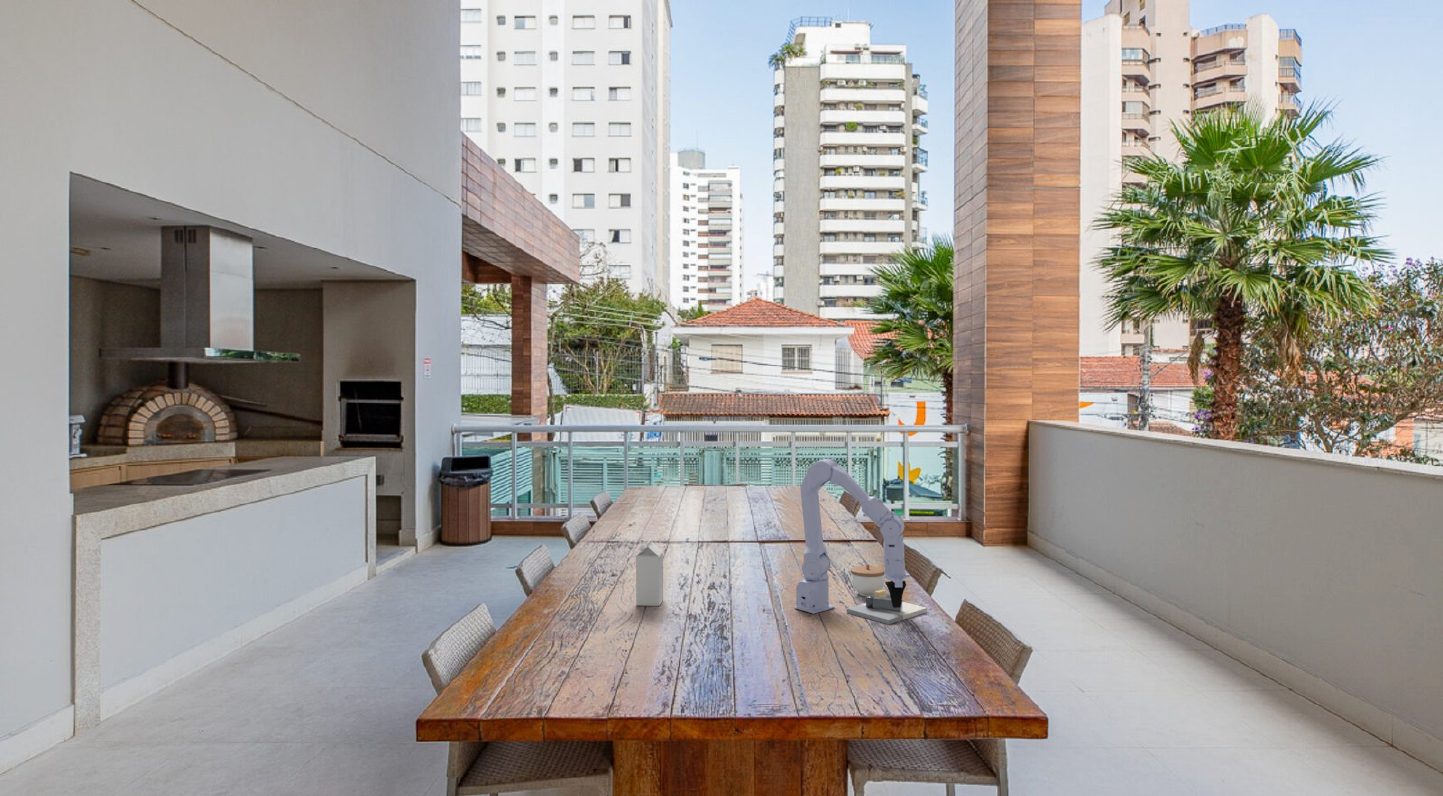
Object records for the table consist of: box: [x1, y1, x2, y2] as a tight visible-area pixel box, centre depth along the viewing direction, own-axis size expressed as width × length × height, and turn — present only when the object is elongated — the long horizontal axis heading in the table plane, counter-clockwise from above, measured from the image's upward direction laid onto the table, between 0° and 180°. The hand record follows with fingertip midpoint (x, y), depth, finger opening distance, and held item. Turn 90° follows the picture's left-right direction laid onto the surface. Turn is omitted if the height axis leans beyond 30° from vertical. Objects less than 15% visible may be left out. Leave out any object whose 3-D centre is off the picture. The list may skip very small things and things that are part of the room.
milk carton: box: [635, 538, 664, 607], centre depth 232 cm, size 7×7×19 cm
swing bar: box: [865, 596, 902, 611], centre depth 220 cm, size 10×3×3 cm, turn 62°
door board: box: [846, 589, 928, 625], centre depth 221 cm, size 18×15×4 cm
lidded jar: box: [850, 563, 886, 597], centre depth 242 cm, size 11×11×9 cm
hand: (896, 607), depth 217 cm, fingers closed, pressing on swing bar
